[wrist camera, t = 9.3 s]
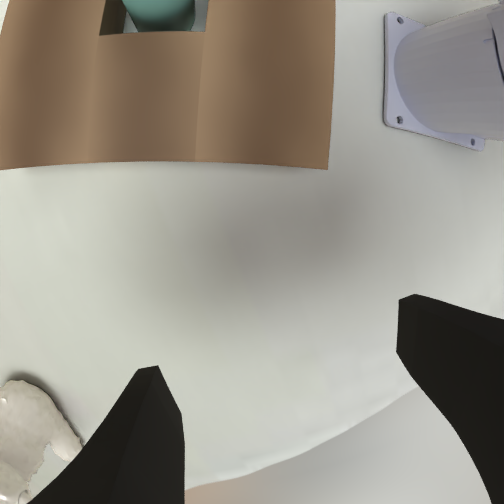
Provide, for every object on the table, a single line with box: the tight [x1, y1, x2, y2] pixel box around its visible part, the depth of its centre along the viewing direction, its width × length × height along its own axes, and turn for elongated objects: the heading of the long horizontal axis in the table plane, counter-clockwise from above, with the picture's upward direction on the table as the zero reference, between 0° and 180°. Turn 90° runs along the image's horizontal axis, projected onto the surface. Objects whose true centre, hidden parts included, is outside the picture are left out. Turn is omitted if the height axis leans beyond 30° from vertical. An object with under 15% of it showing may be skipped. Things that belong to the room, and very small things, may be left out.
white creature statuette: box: [0, 380, 82, 504], centre depth 14 cm, size 10×9×12 cm
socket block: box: [0, 0, 335, 170], centre depth 12 cm, size 16×16×4 cm
